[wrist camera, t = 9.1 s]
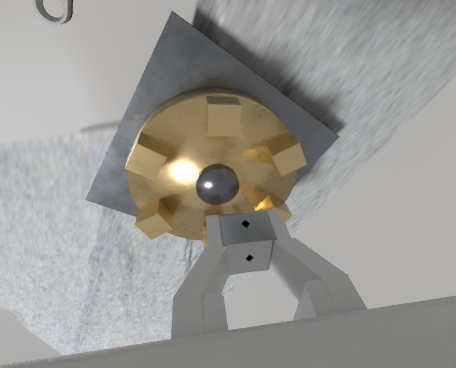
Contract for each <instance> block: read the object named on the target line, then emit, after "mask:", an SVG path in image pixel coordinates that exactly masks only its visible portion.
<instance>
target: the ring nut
mask: <svg viewBox="0 0 456 368" xmlns="http://www.w3.org/2000/svg"><path fill="white" fill-rule="evenodd" d="M305 165H307V163H306V160H305V157H304V154H303V151H302V148H301V145H300V142H299V141H298V140H297V139H296V138H295V137H294V136H293V135H292V133H289V131H288V130H287V128H286V127H285V125H284V124H283V123H282V122H281V121H280V120H279V119H278V118H277V117H276V115H275V114H274V113H273V112H272V111H271V110H270V109H269V108H268V107H267V106H265V105H264V104H263V103H262V102H260V101H258V100H257V99H255V98H253V97H252V96H249V95H247V94H244V93H242V92H238V91H234V90H230V89H220V88H211V89H201V90H195V91H191V92H188V93H185V94H181V95H179V96H177V97H175V98H173V99H171V100H169V101H168V102H166V103H165V104H163V105H162V106H160V107H159V108H158V109H157V110H156V111H154V112H153V113H152V114H151V115H150V116H149V118H148V119H147V120H146V121H145V122H144V124H143V125H142V127H141V129H140V130H139V132H138V134H137V137H136V139H135V142H134V145H133V148H132V150H131V152H130V154H129V156H128V159H127V162H126V165H125V169H127V179H128V186H129V190H130V193H131V196H132V198H133V200H134V202H135V204H136V206H137V207H138V209H139V210H138V213H137V218H136V223H135V225H136V226H137V227H138V228H140V229H141V230H142V231H143V232H144V233H145V234H146V235H147V236H148V237H149V238H150V239H154V238H156V237H158V236H160V235H162V234H164V233H166V232H168V233H170V234H173V235H176V236H179V237H182V238H186V239H192V240H203V246H204V249H205V248H208V238H207V227H206V216H210V215H220V214H232V213H243V212H252V211H260V210H269V209H278V210H279V212H280V214H281V216H282V218H283V221H284V223H285V222H286V221H287V220H288V219H289V218H290V217H291V216H292V214H291V212H290V210H289V209H288V207H287V205H286V203H285V201H286V200H287V198H288V197H289V195H290V193H291V191H292V189H293V186H294V183H295V180H296V176H297V170H298V169H299V168H301V167H303V166H305Z"/></svg>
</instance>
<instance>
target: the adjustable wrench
mask: <svg viewBox="0 0 456 368" xmlns="http://www.w3.org/2000/svg"><path fill="white" fill-rule="evenodd" d="M60 1H61V2H62V4H63V6H64V14H63V16H62V17H60V18H54V17H52V16H50V15H49V14H48V13H47V12H46V11H45V9H44V7H43V0H33V5H34V8H35V10H36V12H37V13H38V14H39V16H40V17H41V18H42V19H44V20H45V21H46V22H49V23H51V24H55V25H57V24H63V23H67V22H69V21H70V20H71V18H72V15H73V0H60Z"/></svg>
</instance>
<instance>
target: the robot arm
mask: <svg viewBox="0 0 456 368" xmlns="http://www.w3.org/2000/svg"><path fill="white" fill-rule="evenodd" d="M206 227H207V238H208V248H205V249H204V250H203V252H202V254H201V255H200V257H199V258H198V260H197V261H196V263H195V265H194V266H193V268H192V269H191V271H190V272H189V274H188V276H187V277H186V279H185V280H184V282H183V283H182V285H181V287H180V288H179V290H178V291H177V293H176V294H175V296H174V298H173V313H172V334H171V339H169V340H162V341H156V342H149V343H143V344H136V345H130V346H123V347H117V348H110V349H104V350H97V351H91V352H84V353H77V354H71V355H64V356H58V357H51V358H45V359H39V360H32V361H25V362H19V363H12V364H5V365H0V368H456V296H451V297H444V298H438V299H431V300H425V301H419V302H412V303H405V304H399V305H392V306H386V307H379V308H373V309H367V308H366V306H365V304H364V303H363V301H362V299H361V297H360V296H359V294H358V292H357V291H356V289H355V287H354V285H353V284H352V282H351V280H350V279H349V277H348V275H347V274H346V273H344V272H343V271H341V270H340V269H338V268H337V267H335V266H334V265H333V264H331V263H330V262H328V261H327V260H326V259H324V258H323V257H321V256H320V255H318V254H317V253H316V252H314V251H313V250H311V249H310V248H308V247H307V246H306V245H304V244H303V243H302V242H300V241H299V240H297V239H296V238H291V236H290V234H289V232H288V229H287V227H286V225H285V223H284V221H283V218H282V216H281V214H280V212H279V210H278V209H269V210H260V211H252V212H243V213H232V214H220V215H210V216H206ZM264 270H269V271H270V273H271V274H273V275H274V277H275V278H276V279H277V280H278V281H279V282H280V283H281V284H282V285H283V286H284V287H285V288H286V289H287V290H288V291H289V292H290V293H291V294H292V295H293V296H294V297H295V298H296V299H297V300H298V302H299V304H298V307H297V310H296V313H295V316H294V320H293V321H287V322H280V323H274V324H267V325H261V326H254V327H248V328H241V329H234V330H228V326H227V319H226V311H225V304H224V297H223V296H222V295H221V292H222V290H223V287H224V285H225V283H226V280H227V278H228V275H233V274H239V273H246V272H254V271H264Z"/></svg>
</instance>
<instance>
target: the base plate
mask: <svg viewBox="0 0 456 368" xmlns="http://www.w3.org/2000/svg"><path fill="white" fill-rule="evenodd" d="M211 88H220V89H230V90H234V91H238V92H242V93H244V94H247V95H249V96H252V97H253V98H255V99H257V100H258V101H260V102H262V103H263V104H264V105H265V106H267V107H268V108H269V109H270V110H271V111H272V112H273V113H274V114H275V115H276V117H277V118H278V119H279V120H280V121H281V122H282V123H283V124H284V125H285V127H286V128H287V130H288V131H289V133H292V135H293V136H294V137H295V138H296V139H297V140H298V141H299V142H300V145H301V148H302V151H303V154H304V157H305V160H306V163H307V165H305V166H303V167H301V168H299V169H298V170H297V176H296V180H295V183H294V185H295V184H296V183H297V182H298V181H299V180H300V179H301V178H302V177H303V176H304V175H305V173H306V172H307V171H308V170H309V169H310V168H311V167H312V166H313V165H314V164H315V163H316V161H317V160H318V159H319V158H320V157H321V156H322V155H323V154H324V153H325V152H326V151H327V150H328V148H329V147H330V146H331V145H332V144H333V143H334V142H335V141H336V140H337V139H338V138H339V136H338V135H337V134H336V133H335V132H333V131H332V130H331V129H329V128H328V127H327V126H325V125H324V124H323V123H321V122H320V121H319V120H317V119H316V118H315V117H313V116H312V115H311V114H309V113H308V112H307V111H305V110H304V109H303V108H301V107H300V106H299V105H297V104H296V103H295V102H293V101H292V100H291V99H289V98H288V97H287V96H285V95H284V94H283V93H281V92H280V91H279V90H277V89H276V88H275V87H273V86H272V85H271V84H269V83H268V82H267V81H265V80H264V79H263V78H261V77H260V76H259V75H257V74H256V73H255V72H253V71H252V70H251V69H249V68H248V67H247V66H245V65H244V64H243V63H241V62H240V61H239V60H237V59H236V58H235V57H233V56H232V55H231V54H229V53H228V52H227V51H225V50H224V49H223V48H221V47H220V46H219V45H217V44H216V43H215V42H213V41H212V40H211V39H209V38H208V37H207V36H205V35H204V34H203V33H201V32H200V31H199V30H197V29H196V28H195V27H193V26H192V25H191V24H189V23H188V22H187V21H185V20H184V19H182V18H181V17H180V16H178V15H177V14H176V13H174V12H173V11H172V12H171V14H170V16H169V19H168V20H167V23H166V25H165V27H164V29H163V31H162V34H161V36H160V38H159V40H158V42H157V45H156V47H155V49H154V51H153V53H152V55H151V58H150V60H149V62H148V64H147V66H146V69H145V71H144V73H143V75H142V77H141V79H140V82H139V84H138V86H137V88H136V91H135V93H134V95H133V97H132V99H131V102H130V104H129V106H128V108H127V110H126V112H125V114H124V117H123V119H122V121H121V123H120V125H119V127H118V130H117V132H116V134H115V136H114V138H113V141H112V143H111V145H110V147H109V149H108V151H107V154H106V156H105V158H104V160H103V162H102V165H101V167H100V169H99V171H98V173H97V175H96V178H95V180H94V182H93V184H92V186H91V189H90V191H89V193H88V195H87V197H86V199H85V200H87V201H90V202H93V203H96V204H99V205H102V206H105V207H108V208H111V209H114V210H117V211H120V212H123V213H126V214H129V215H132V216H135V217H137V213H138V210H139V209H138V207H137V206H136V204H135V202H134V200H133V198H132V196H131V193H130V190H129V186H128V179H127V169H125V165H126V162H127V159H128V156H129V154H130V152H131V150H132V148H133V145H134V142H135V139H136V137H137V134H138V132H139V130H140V129H141V127H142V125H143V124H144V122H145V121H146V120H147V119H148V118H149V116H150V115H151V114H152V113H153V112H154V111H156V110H157V109H158V108H159V107H160V106H162V105H163V104H165V103H166V102H168V101H169V100H171V99H173V98H175V97H177V96H179V95H181V94H185V93H188V92H191V91H195V90H201V89H211ZM293 187H294V186H293Z"/></svg>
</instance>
